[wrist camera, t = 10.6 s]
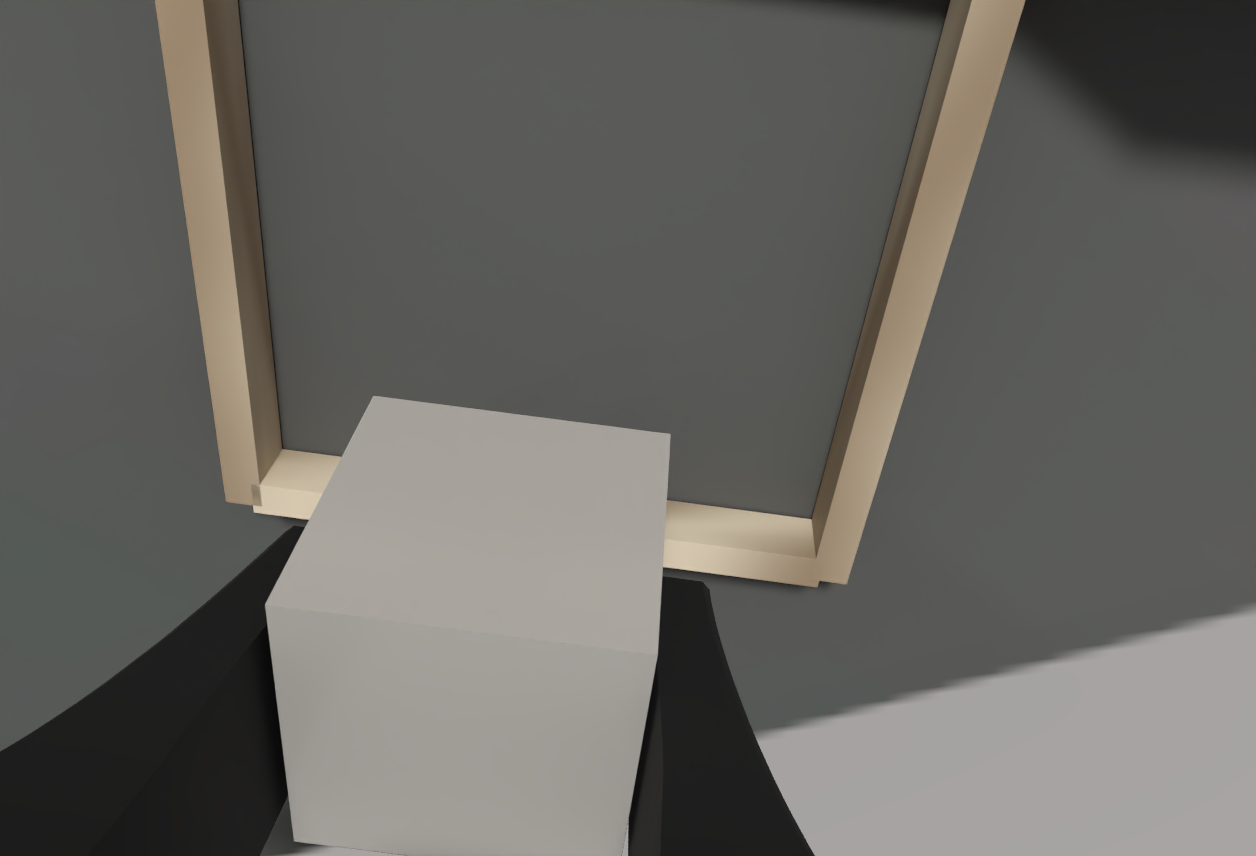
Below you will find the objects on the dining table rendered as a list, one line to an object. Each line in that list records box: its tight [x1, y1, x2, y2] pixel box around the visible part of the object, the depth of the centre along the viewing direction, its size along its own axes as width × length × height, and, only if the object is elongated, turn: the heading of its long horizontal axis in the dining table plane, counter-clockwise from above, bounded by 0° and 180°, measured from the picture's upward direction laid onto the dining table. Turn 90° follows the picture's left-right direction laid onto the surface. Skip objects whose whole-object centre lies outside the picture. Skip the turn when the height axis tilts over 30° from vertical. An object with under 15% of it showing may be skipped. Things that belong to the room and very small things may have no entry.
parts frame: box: [155, 0, 1025, 587], centre depth 17 cm, size 12×12×1 cm
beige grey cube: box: [265, 396, 671, 856], centre depth 13 cm, size 4×4×4 cm
